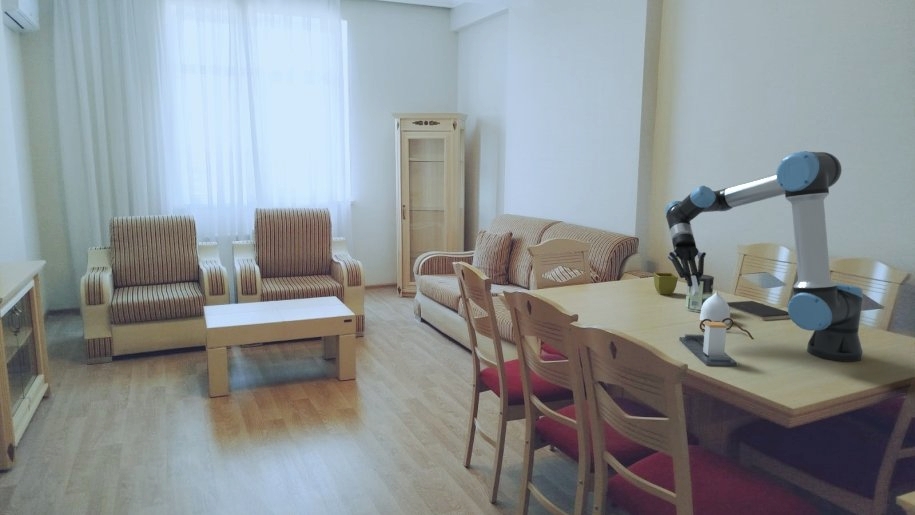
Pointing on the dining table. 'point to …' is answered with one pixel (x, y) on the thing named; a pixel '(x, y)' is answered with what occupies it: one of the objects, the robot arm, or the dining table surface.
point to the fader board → (696, 347)
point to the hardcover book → (758, 310)
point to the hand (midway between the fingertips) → (696, 293)
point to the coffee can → (705, 292)
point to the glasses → (726, 328)
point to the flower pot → (665, 283)
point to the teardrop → (715, 309)
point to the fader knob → (714, 338)
